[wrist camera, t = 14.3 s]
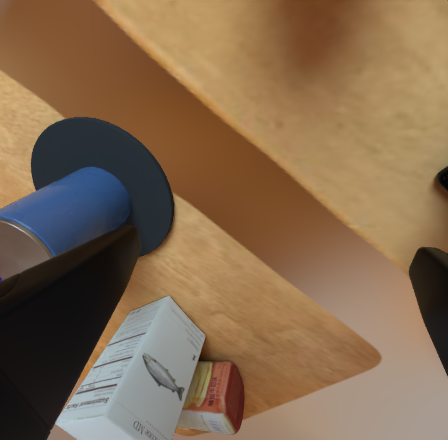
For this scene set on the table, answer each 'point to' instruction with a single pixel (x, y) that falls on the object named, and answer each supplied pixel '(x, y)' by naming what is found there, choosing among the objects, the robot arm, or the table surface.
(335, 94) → the table surface
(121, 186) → the blue can
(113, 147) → the trivet
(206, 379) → the snack package
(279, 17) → the table surface
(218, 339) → the table surface
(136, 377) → the white packaging box
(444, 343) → the robot arm
